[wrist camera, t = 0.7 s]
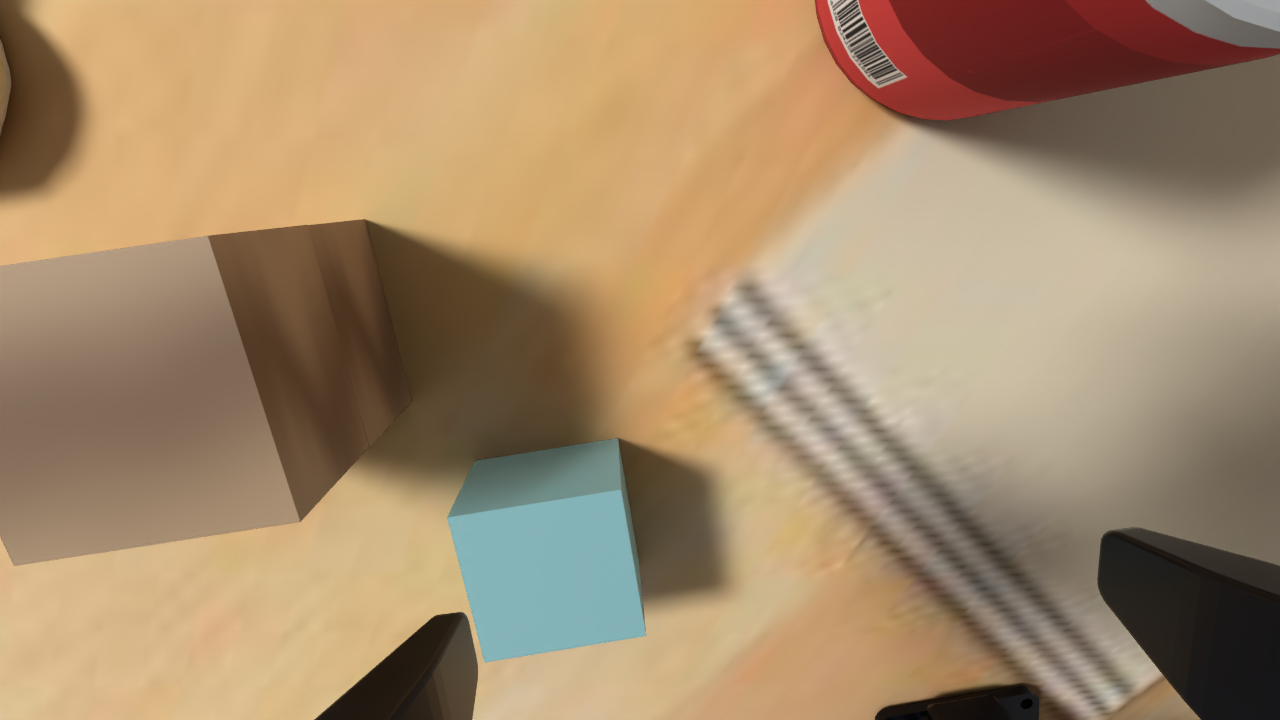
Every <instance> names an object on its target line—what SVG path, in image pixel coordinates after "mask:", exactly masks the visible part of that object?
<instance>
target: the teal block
mask: <svg viewBox="0 0 1280 720" xmlns="http://www.w3.org/2000/svg"><path fill="white" fill-rule="evenodd" d="M447 519H448V523H449V527H450V530H451V534H452V538H453V542H454V546H455V550H456V554H457V557H458V561H459V565H460V569H461V573H462V577H463V581H464V585H465V588H466V592H467V596H468V600H469V604H470V608H471V612H472V616H473V619H474V623H475V627H476V631H477V635H478V639H479V643H480V646H481V650H482V654H483V658H484V662H490V661H496V660H502V659H508V658H515V657H521V656H527V655H533V654H539V653H545V652H551V651H557V650H563V649H569V648H575V647H581V646H587V645H593V644H600V643H606V642H612V641H618V640H624V639H630V638H636V637H642V636H646V629H645V619H644V608H643V598H642V587H641V577H640V566H639V559H638V553H637V547H636V541H635V535H634V529H633V523H632V518H631V512H630V506H629V500H628V494H627V488H626V482H625V476H624V470H623V464H622V458H621V452H620V447H619V441H618V438H615V439H609V440H603V441H596V442H590V443H584V444H577V445H571V446H565V447H559V448H552V449H546V450H540V451H533V452H527V453H521V454H515V455H508V456H502V457H496V458H490V459H483V460H477V461H474V463H473V465H472V467H471V469H470V472H469V474H468V476H467V478H466V480H465V482H464V484H463V486H462V488H461V490H460V492H459V494H458V496H457V498H456V500H455V503H454V505H453V507H452V509H451V511H450V513H449V515H448V517H447Z"/></svg>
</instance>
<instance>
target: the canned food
mask: <svg viewBox="0 0 1280 720" xmlns="http://www.w3.org/2000/svg"><path fill="white" fill-rule="evenodd" d="M815 5H816V14H817V19H818V22H819V25H820V29H821V32H822V35H823V38H824V42H825V44H826V45H827V47H828V49H829V51H830V53H831V55H832V57H833V59H834V61H835V63H836V64H837V65H838V67H839V68H840V69H841V70H842V72H843V73H844V74H845V75H846V77H847V78H848V79H849V80H850V82H851V83H852V84H854V85H855V86H856V87H857V88H858V89H860V90H861V91H862V92H863V93H865V94H866V95H867V96H868V97H869V98H871V99H873V100H875V101H877V102H879V103H881V104H883V105H885V106H887V107H889V108H891V109H893V110H895V111H897V112H899V113H903V114H906V115H910V116H914V117H918V118H921V119H933V120H953V119H959V118H966V117H972V116H977V115H982V114H987V113H992V112H997V111H1002V110H1007V109H1012V108H1017V107H1022V106H1027V105H1032V104H1037V103H1042V102H1047V101H1052V100H1057V99H1062V98H1067V97H1072V96H1077V95H1082V94H1087V93H1092V92H1097V91H1102V90H1107V89H1112V88H1117V87H1122V86H1127V85H1132V84H1137V83H1142V82H1147V81H1152V80H1157V79H1162V78H1167V77H1172V76H1177V75H1182V74H1187V73H1192V72H1197V71H1202V70H1207V69H1212V68H1217V67H1222V66H1227V65H1232V64H1237V63H1242V62H1247V61H1252V60H1257V59H1262V58H1267V57H1270V56H1274V55H1277V54H1280V0H815Z"/></svg>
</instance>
